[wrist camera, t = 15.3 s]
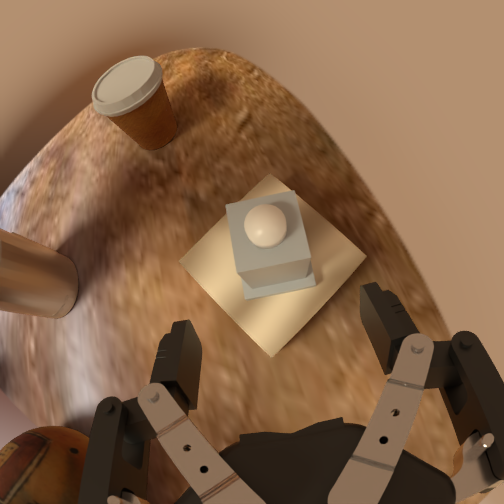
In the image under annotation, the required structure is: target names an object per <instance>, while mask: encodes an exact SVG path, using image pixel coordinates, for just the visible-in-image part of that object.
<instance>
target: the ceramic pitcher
mask: <svg viewBox="0 0 504 504" xmlns="http://www.w3.org/2000/svg"><path fill="white" fill-rule="evenodd" d="M88 443H89V437H87V436H86V435H84V434H82V433H81V432H79V431H78V430H73V429H70V428H67V427H62V426H47V427H39V428H35V429H32V430H29V431H26V432H24V433H23V434H21V435H19V436H17V437H16V438H14V439H13V440H11V441H10V442H9V443H8V444H6V445H5V446H4V447H3V448H2V449H1V450H0V504H78V498H79V492H80V485H81V479H82V473H83V468H84V463H85V457H86V452H87V448H88Z"/></svg>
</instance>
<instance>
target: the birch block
mask: <svg viewBox="0 0 504 504" xmlns="http://www.w3.org/2000/svg"><path fill="white" fill-rule="evenodd" d="M287 191H292V190H290V189H289V188H288V187H287V186H285V185H284V184H283V183H282V182H280V181H279V180H278V179H277V178H275V177H274V176H273V175H272V174H270V173H269V174H268V175H267V176H265V177H264V178H263V179H262V180H261V181H260V182H259V183H258V184H257V185H256V186H255V187H254V188H253V189H252V190H251V191H250V192H248V193H247V194H246V195H245V196H244V197H243V198H242V199H241V200H240V201H245V200H249V199H254V198H258V197H263V196H268V195H273V194H277V193H282V192H287ZM296 198H297V202H298V206H299V210H300V214H301V218H302V221H303V226H304V230H305V234H306V238H307V242H308V246H309V250H310V255H311V264H312V269H313V273H314V278H315V282H316V286H315V287H312V288H307V289H303V290H298V291H293V292H288V293H284V294H279V295H274V296H269V297H264V298H259V299H253V300H248V301H246V300H245V297H244V291H243V286H242V280H241V277H240V276H239V275H238V274H237V272H236V266H235V260H234V254H233V248H232V242H231V236H230V230H229V224H228V218H227V214H226V215H224V216H223V217H222V218H221V219H220V220H219V221H218V222H217V223H216V224H215V225H214V226H213V227H212V228H211V229H210V230H209V231H208V232H207V233H206V234H205V235H204V236H203V237H202V238H201V239H200V240H199V241H198V242H197V243H196V244H195V245H194V246H193V247H192V248H191V249H190V250H189V251H188V252H187V253H186V254H185V255H184V256H183V257H182V258H181V259H180V260H179V263H180V264H181V265H182V266H183V267H184V268H185V269H186V270H187V271H188V272H189V273H190V275H191V276H192V277H193V278H194V279H195V280H196V281H197V282H198V283H199V284H200V285H201V286H202V288H203V289H204V290H205V291H206V292H207V293H208V294H209V295H210V296H211V297H212V298H213V299H214V300H215V301H216V302H217V303H218V304H219V305H220V307H221V308H222V309H223V310H224V311H225V312H226V313H227V314H228V315H229V316H230V317H231V318H232V319H233V320H234V321H235V322H236V323H237V324H238V325H239V326H240V327H241V328H242V329H243V330H244V331H245V332H246V333H247V334H248V335H249V336H250V337H251V338H252V339H253V340H254V341H255V342H256V343H257V344H258V345H259V346H260V347H261V348H262V349H263V350H264V351H265V352H266V353H267V354H268V355H269V356H270V357H271V358H272V357H273V356H274V355H275V354H276V353H277V352H278V351H279V350H280V349H281V348H282V347H283V346H284V345H285V344H286V343H287V342H288V341H289V340H290V339H291V338H292V337H293V336H294V335H295V334H296V333H297V332H298V331H299V330H300V329H301V328H302V327H303V326H304V325H305V324H306V323H307V322H308V321H309V320H310V319H311V318H312V317H313V316H314V315H315V314H316V313H317V311H318V310H319V309H320V308H321V307H322V306H323V305H324V304H325V303H326V302H327V301H328V300H329V299H330V297H331V296H332V295H333V294H334V293H335V292H336V291H337V290H338V289H339V288H340V286H341V285H342V284H343V283H344V282H345V281H346V280H347V279H348V277H349V276H350V275H351V274H352V273H353V272H354V271H355V269H356V268H357V267H358V266H359V265H360V264H361V262H362V261H363V260H364V259H365V258H366V257H367V256H366V255H365V254H364V253H363V252H362V251H361V250H360V249H359V248H357V247H356V246H355V245H354V244H353V243H352V242H351V241H350V240H349V239H347V238H346V237H345V236H344V235H343V234H342V233H341V232H340V231H339V230H337V229H336V228H335V227H334V226H333V225H332V224H331V223H329V222H328V221H327V220H326V219H325V218H324V217H322V216H321V215H320V214H319V213H318V212H317V211H315V210H314V209H313V208H312V207H311V206H310V205H308V204H307V203H306V202H305V201H304V200H302V199H301V198H300V197H299V196H298V195H296ZM240 201H239V202H240Z"/></svg>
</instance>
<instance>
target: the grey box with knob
mask: <svg viewBox="0 0 504 504" xmlns="http://www.w3.org/2000/svg"><path fill="white" fill-rule="evenodd" d="M226 211H227V218H228V224H229V230H230V236H231V242H232V248H233V254H234V260H235V266H236V272H237V274H238V275H239V276H240V277H241V280H242V286H243V291H244V297H245V300H246V301H248V300H253V299H259V298H264V297H269V296H274V295H279V294H284V293H288V292H293V291H298V290H303V289H307V288H312V287H315V286H316V282H315V278H314V273H313V269H312V264H311V255H310V250H309V246H308V242H307V238H306V234H305V230H304V226H303V221H302V218H301V214H300V210H299V206H298V202H297V198H296V194H295V190H292V191H287V192H282V193H277V194H273V195H268V196H263V197H258V198H254V199H249V200H245V201H240V202H236V203H231V204H227V205H226Z"/></svg>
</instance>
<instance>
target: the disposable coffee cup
mask: <svg viewBox="0 0 504 504" xmlns="http://www.w3.org/2000/svg"><path fill="white" fill-rule="evenodd" d="M92 100H93V105H94V108H95V110H96V111H97V112H98V113H99V114H102V115H104V116H107V117H108V118H109V119H110V120H111V121H113V122H114V123H115V124H116V125H117V126H119V128H121V129H122V130H123V131H124V132H125V133H126V134H127V135H129V136H130V137H131V138H132V139H133V140H134V141H136V142H137V143H138V144H139V145H140V146H141V147H142V148H144V149H147V150H154V149H158V148H161V147H163V146H164V145H166V144H167V143H168V142H170V141H171V139H172V138H173V137H174V135H175V134H176V131H177V123H176V120H175V117H174V114H173V111H172V108H171V105H170V102H169V99H168V96H167V93H166V90H165V86H164V83H163V80H162V68H161V66H160V64H159V63H157V62H156V61H154V60H153V59H151V58H150V57H147V56H135V57H131V58H128V59H125V60H123V61H121V62H119V63H117V64H116V65H114V66H113V67H111V68H110V69H109V70H107V71H106V72H105V73H104V74H103V75H102V76H101V77H100V79H99V80H98V81H97V83H96V84H95V86H94V89H93V91H92Z"/></svg>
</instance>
